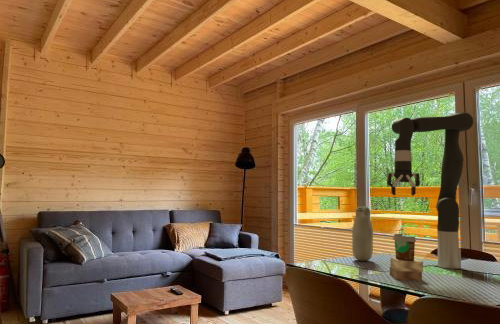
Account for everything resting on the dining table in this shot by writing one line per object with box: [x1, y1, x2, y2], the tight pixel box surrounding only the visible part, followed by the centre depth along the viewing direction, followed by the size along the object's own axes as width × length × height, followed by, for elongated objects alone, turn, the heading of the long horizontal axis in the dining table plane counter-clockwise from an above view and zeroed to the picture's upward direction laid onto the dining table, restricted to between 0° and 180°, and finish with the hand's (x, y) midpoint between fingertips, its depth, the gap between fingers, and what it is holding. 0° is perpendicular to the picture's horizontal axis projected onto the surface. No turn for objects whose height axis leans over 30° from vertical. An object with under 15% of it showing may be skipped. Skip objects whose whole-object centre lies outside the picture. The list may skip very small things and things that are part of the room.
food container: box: [392, 233, 416, 261], centre depth 167 cm, size 12×6×10 cm, turn 5°
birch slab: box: [389, 256, 424, 273], centre depth 167 cm, size 10×10×4 cm
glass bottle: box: [351, 205, 374, 262], centre depth 207 cm, size 10×10×28 cm
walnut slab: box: [389, 266, 423, 282], centre depth 166 cm, size 10×10×4 cm
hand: (403, 195), depth 186 cm, fingers open, 8 cm apart
